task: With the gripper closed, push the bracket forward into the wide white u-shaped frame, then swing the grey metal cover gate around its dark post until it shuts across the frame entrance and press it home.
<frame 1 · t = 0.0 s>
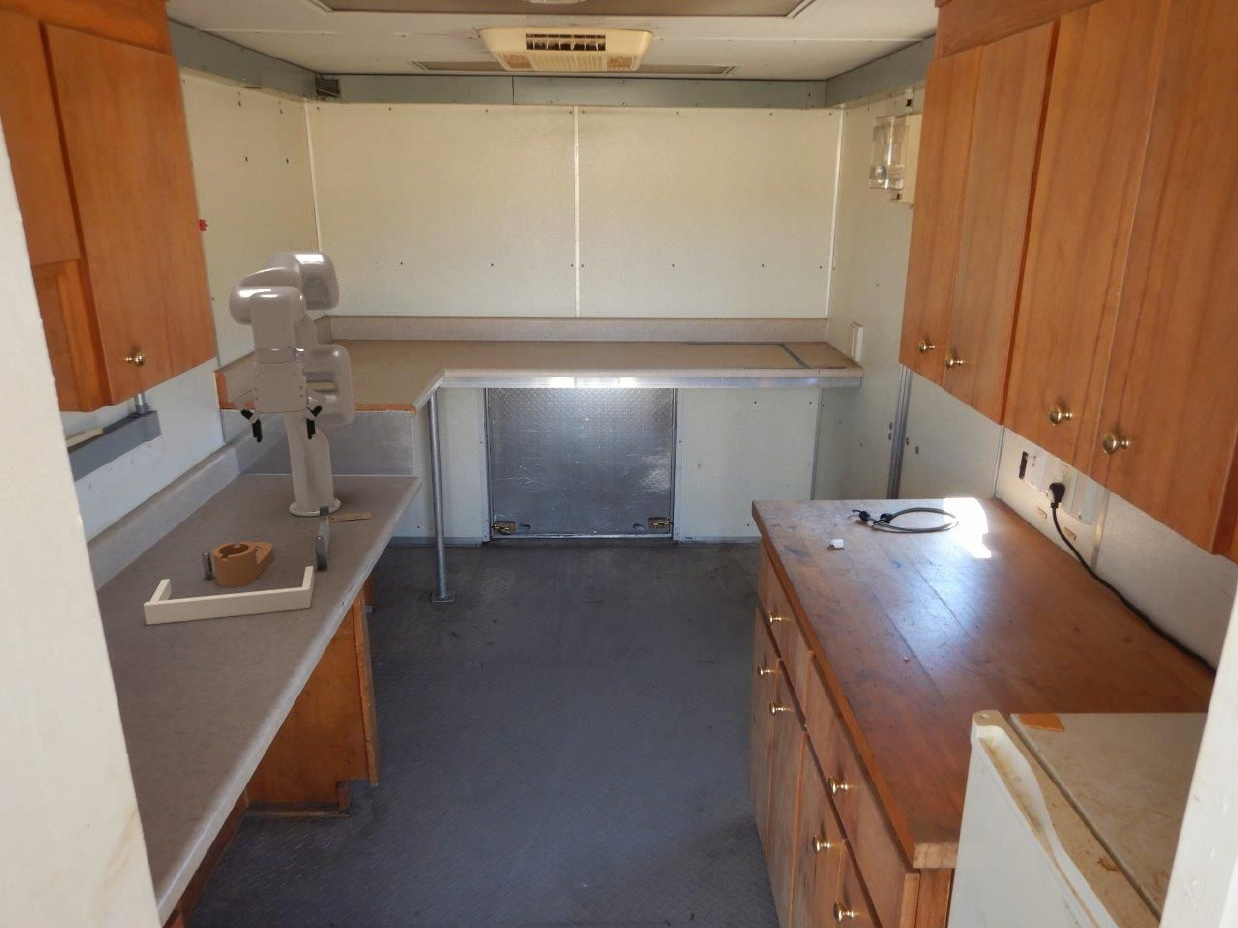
hand: (285, 439, 177), 31 cm above the table, tool pointing down, fingers open, 9 cm apart
white u-shaped frame: (236, 598, 178), on the table
gate: (323, 534, 201), point 4 cm above the table, hinge at 0.0°
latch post: (209, 578, 186), on the table
hinge post: (322, 568, 192), on the table
bracket: (246, 570, 191), on the table
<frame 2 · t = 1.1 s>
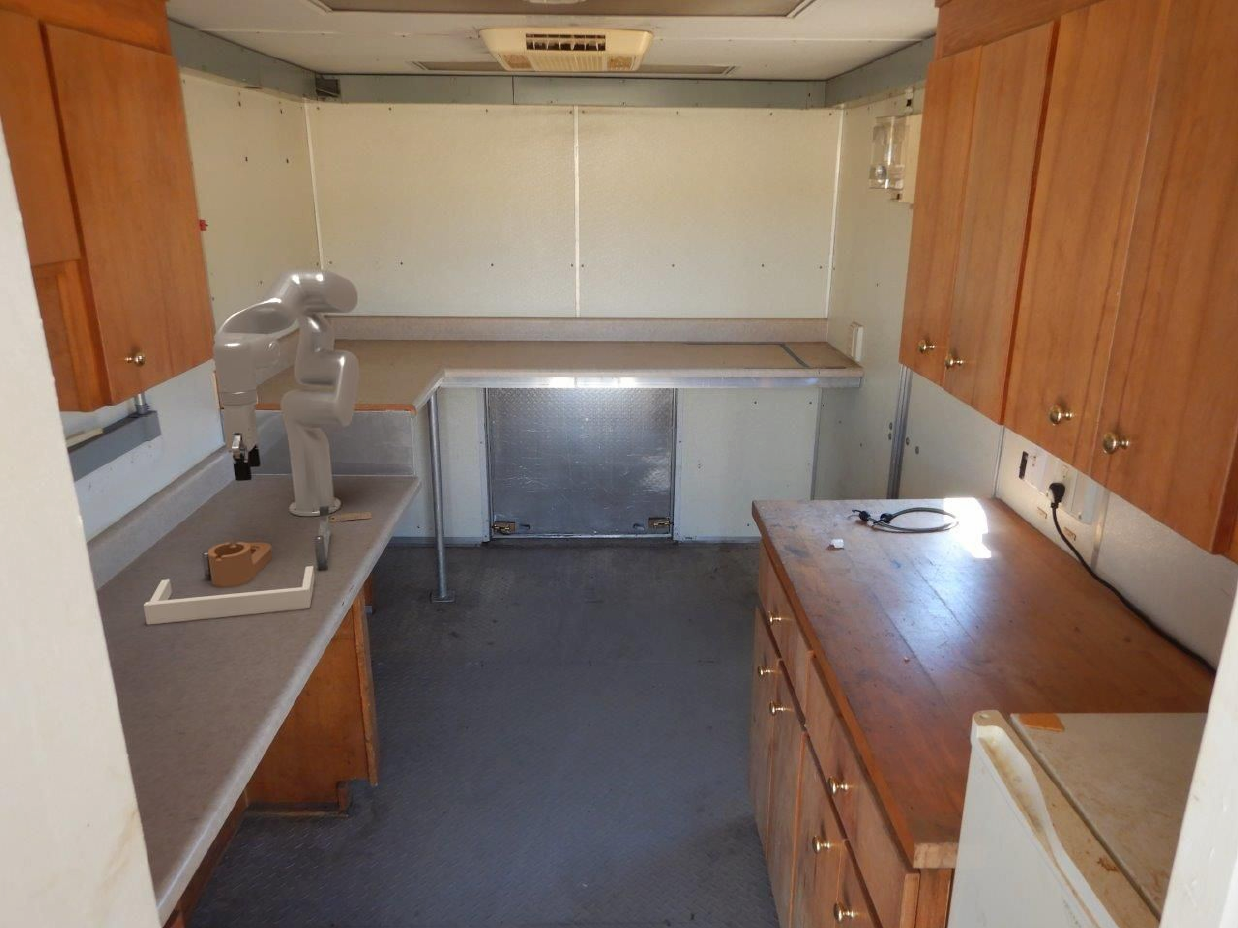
hand: (248, 473, 193), 20 cm above the table, tool pointing down, fingers open, 9 cm apart
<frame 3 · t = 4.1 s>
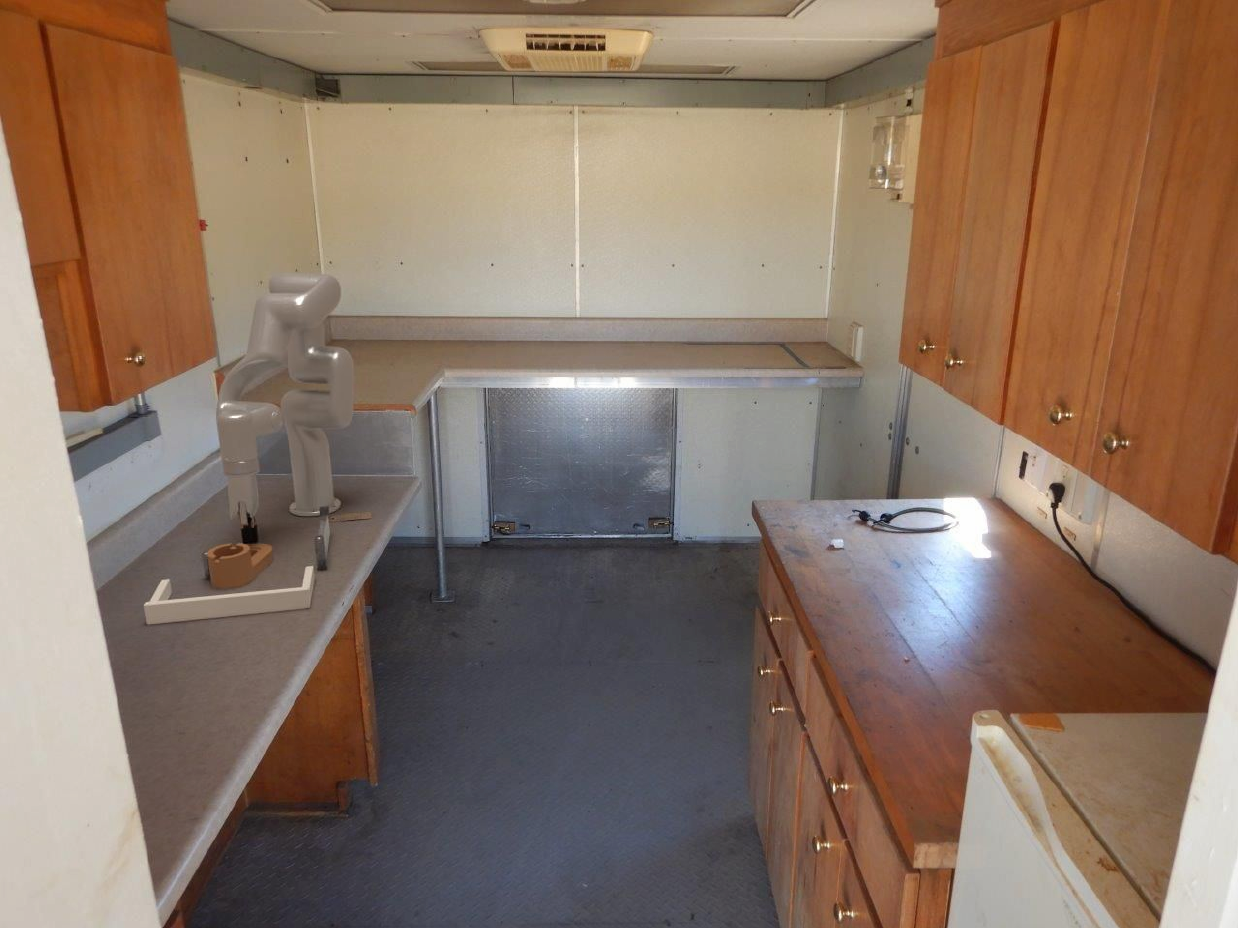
hand: (250, 542, 199), 3 cm above the table, tool pointing down, fingers closed
bracket: (243, 572, 191), on the table, touching gripper
everything else where it was.
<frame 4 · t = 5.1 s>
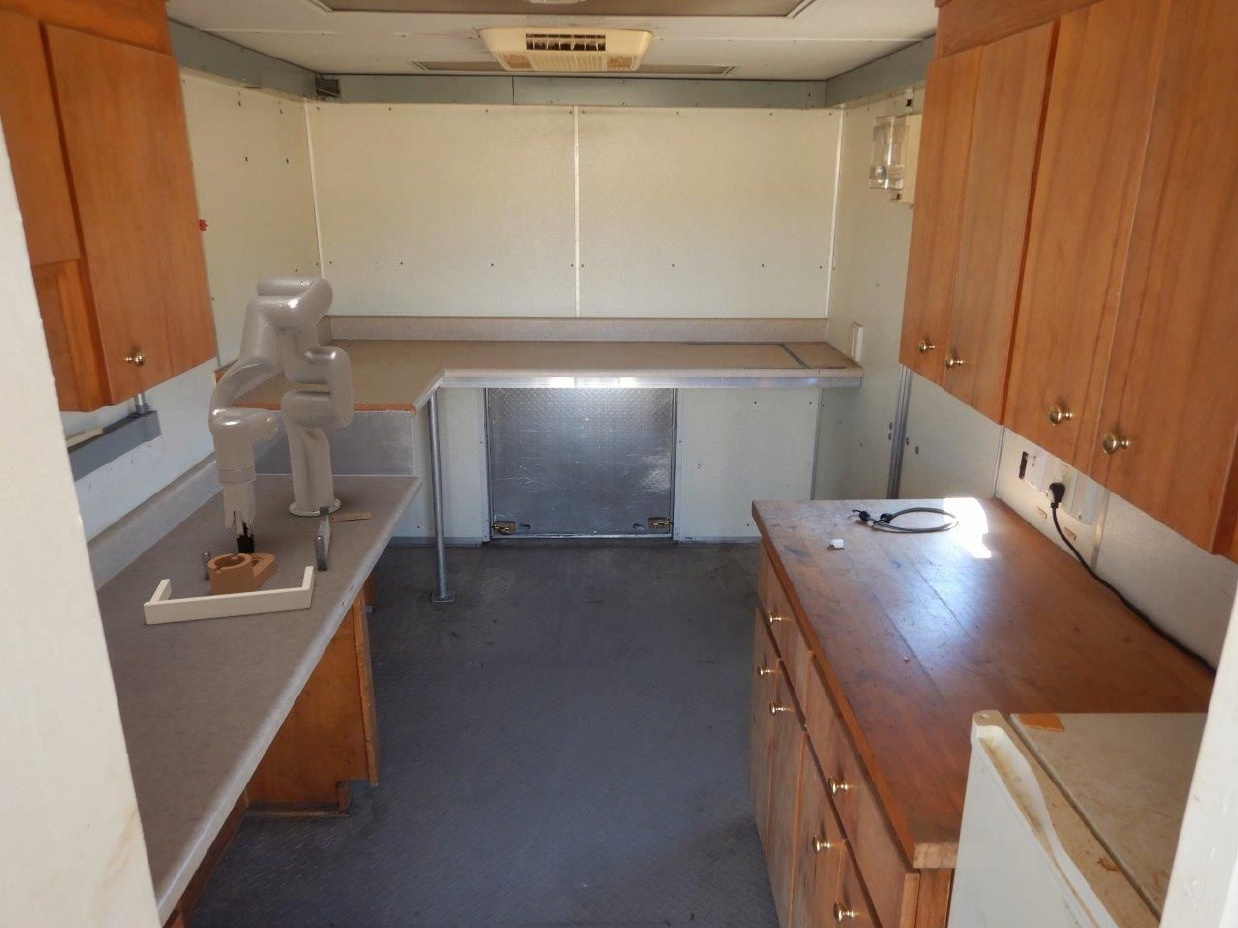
hand: (247, 552, 193), 3 cm above the table, tool pointing down, fingers closed
bracket: (245, 582, 185), on the table
everything else where it was.
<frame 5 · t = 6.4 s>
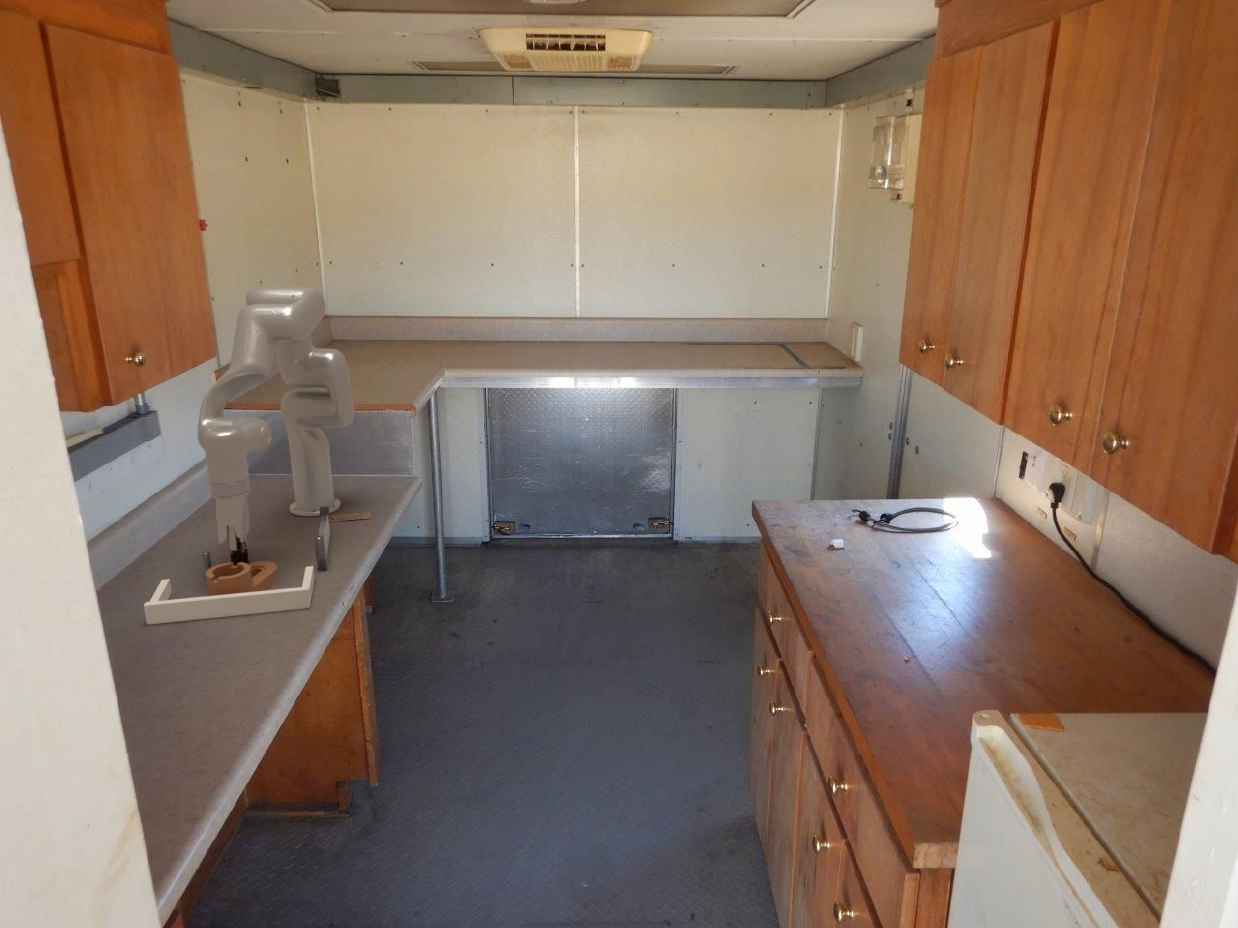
hand: (241, 568, 185), 3 cm above the table, tool pointing down, fingers closed
bracket: (245, 592, 181), on the table, touching gripper
everything else where it was.
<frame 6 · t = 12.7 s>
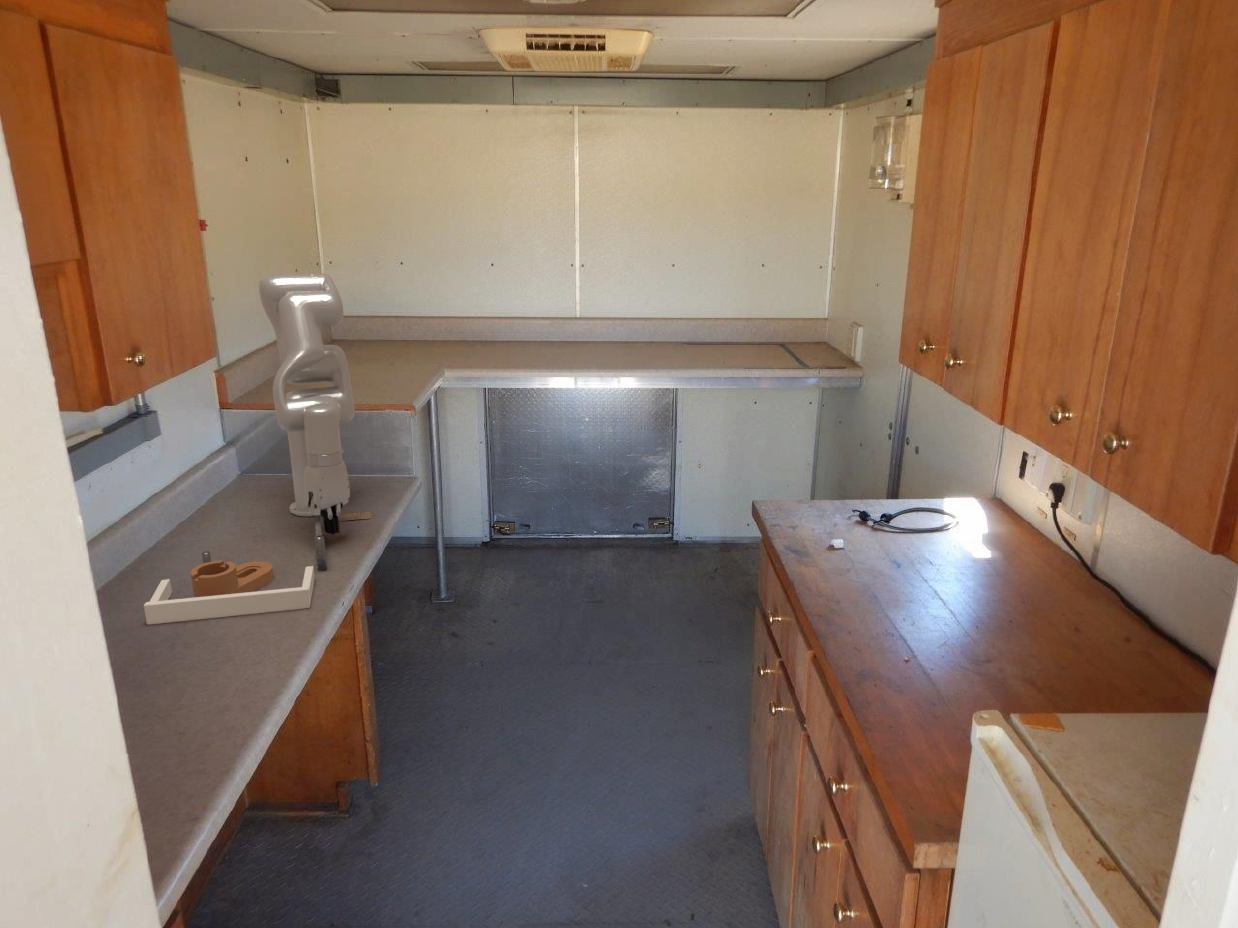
hand: (332, 532, 205), 3 cm above the table, tool pointing down, fingers closed
gate: (318, 534, 200), point 4 cm above the table, hinge at 5.4°, touching gripper
bracket: (236, 591, 182), on the table
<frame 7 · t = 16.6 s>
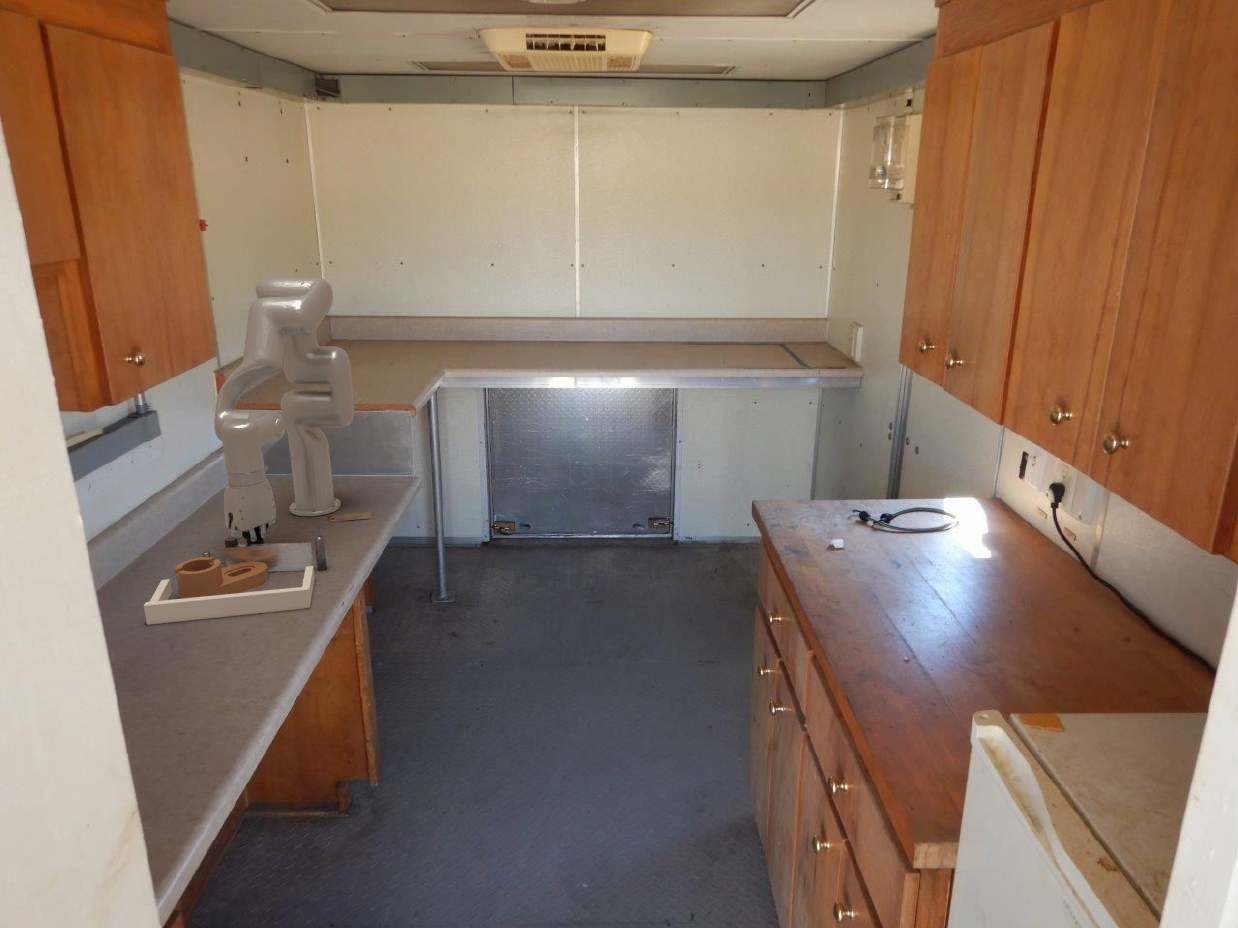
hand: (257, 554, 193), 2 cm above the table, tool pointing down, fingers closed
gate: (268, 554, 190), point 4 cm above the table, hinge at 80.3°, touching gripper
bracket: (225, 589, 182), on the table
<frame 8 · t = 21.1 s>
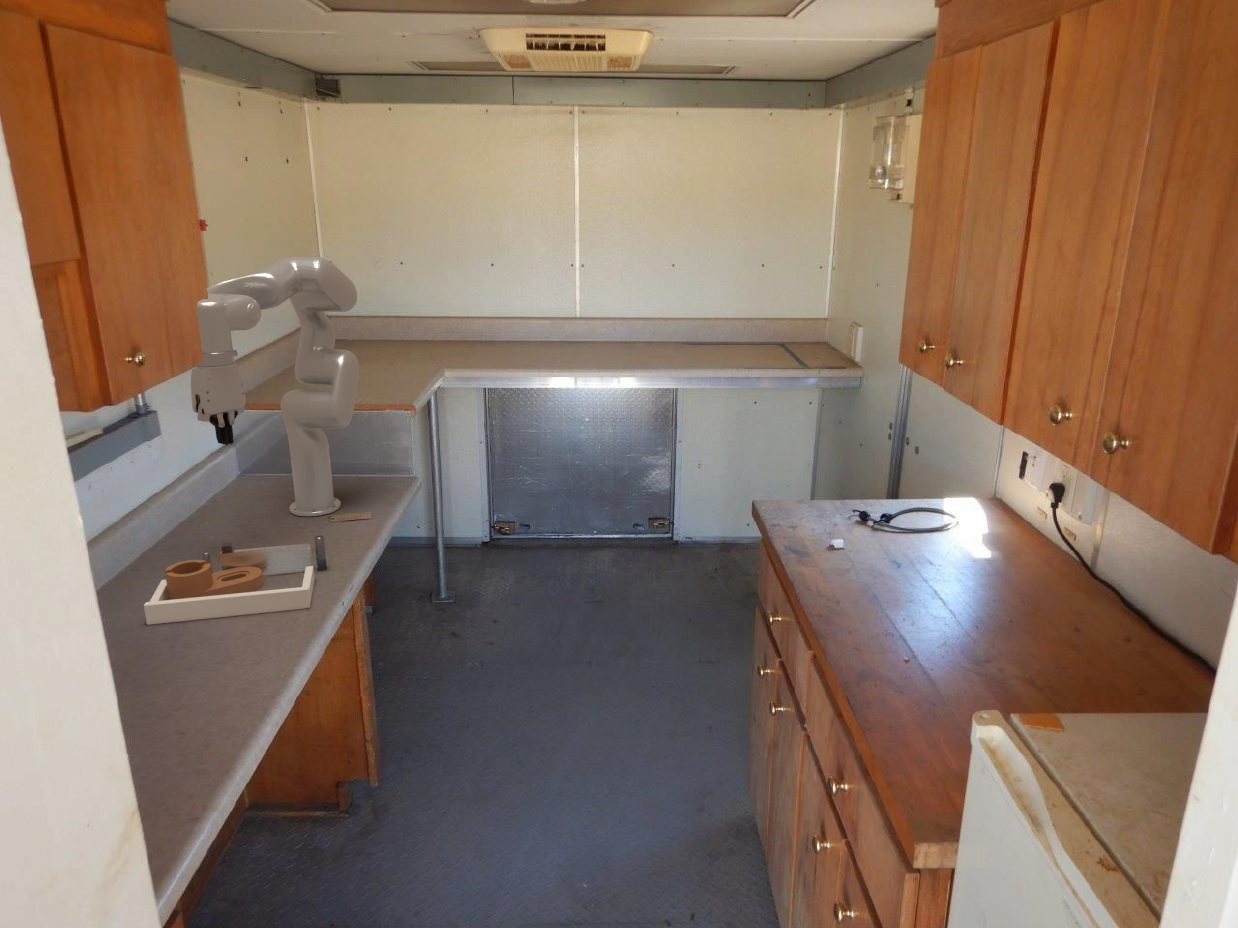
hand: (225, 443, 188), 27 cm above the table, tool pointing down, fingers closed
gate: (266, 557, 188), point 4 cm above the table, hinge at 90.1°
bracket: (217, 593, 181), on the table
at the end: bracket inside the target area (6.3 cm from its centre), on the table; gate at +90° (first picture: +0°) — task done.
